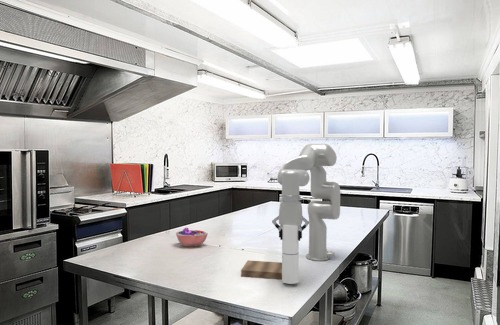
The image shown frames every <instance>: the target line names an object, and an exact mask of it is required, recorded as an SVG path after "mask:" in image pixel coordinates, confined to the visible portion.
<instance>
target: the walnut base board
mask: <svg viewBox="0 0 500 325" xmlns="http://www.w3.org/2000/svg"><path fill="white" fill-rule="evenodd" d="M240 277H241V278H243V277H244V278H255V279H256V278H257V279H258V278H259V279H271V280H282V261H280V262H279V261H264V260H246V262H245V263H244V265H243V267H242V268H241V269H240Z"/></svg>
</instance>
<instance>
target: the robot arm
mask: <svg viewBox="0 0 500 325" xmlns="http://www.w3.org/2000/svg"><path fill="white" fill-rule="evenodd" d="M336 164H337V154H336V152H335V150H334V149H333V148H332V146H331V145H329V144H328V143H308V144H305V145H304V147H303V148H302V149H301V151H300V153H299V154H298V156H297V157H295V158H292V159H291V160H288V161H286V162H285V163H283V164H282V166H281V167H280V168H279V170H278V174H277V182H278V184H279V185H281V201H280V203H279V209H278V215H277V216H276V217H274V218H273V219H272V221H271V223H272V224H273V225H274V227H275V228H276V229H277V231H278V238H280V241H282V227H283V225H297V226H298V228H299V232H298V240H299V242H300V241H301V239H303V231H304V230H305V229H306V228H307V227H308V253H306V254H305V258H306V259H308V260H310V261H314V262H315V261H316V262H318V261H319V262H325V261H328V260H329V259H330V257H335V256H336V252H333V251H328V249H327V232H328V230H327V224H326V223H325V221H324V220H338V219H339V218H340V214H341V188H340V184H339V183H338V182H335V181H327V171H326V170H325V168H324V167H333V166H335V165H336ZM308 171H310V174H309V172H308ZM309 183H310V196H311V198H314V199H319V200H313V201H310V202H309V203H308V205H307V215H308V219H307V218H305V217H304V216H303V207H302V202H301V201H302V200H304V199H303V196H300V187H305V186H307V185H308V184H309ZM321 199H323V200H321ZM324 200H330V201H324ZM277 221H278V223H277ZM303 222H304V224H303V225H302V223H303Z"/></svg>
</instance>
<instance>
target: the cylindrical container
mask: <svg viewBox="0 0 500 325" xmlns="http://www.w3.org/2000/svg"><path fill="white" fill-rule="evenodd" d="M298 232H299V228H298V226H297V225H283V227H282V240H281V263H282V279H281V282H283V283H284V284H289V285H293V284H297V283H299V258H300V257H299V256H300V255H299V253H300V252H299V248H300V247H299V246H300V243H299V242H300V241H299V240H298Z"/></svg>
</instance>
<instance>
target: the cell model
mask: <svg viewBox="0 0 500 325" xmlns="http://www.w3.org/2000/svg"><path fill="white" fill-rule="evenodd" d="M175 235H176V238H177V241H179V243H180V244H181V245H183V246H184V247H199V246H201V245H202V244H203V243H205V241H206V239H207V238H208V235H209V234H208V232H206V231H204V230H201V229H200V230H198V229H194V230H192V229H191V230H190V229H189V228H188V227H185V228H183V229H182V230H180V231H177V232H175Z"/></svg>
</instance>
